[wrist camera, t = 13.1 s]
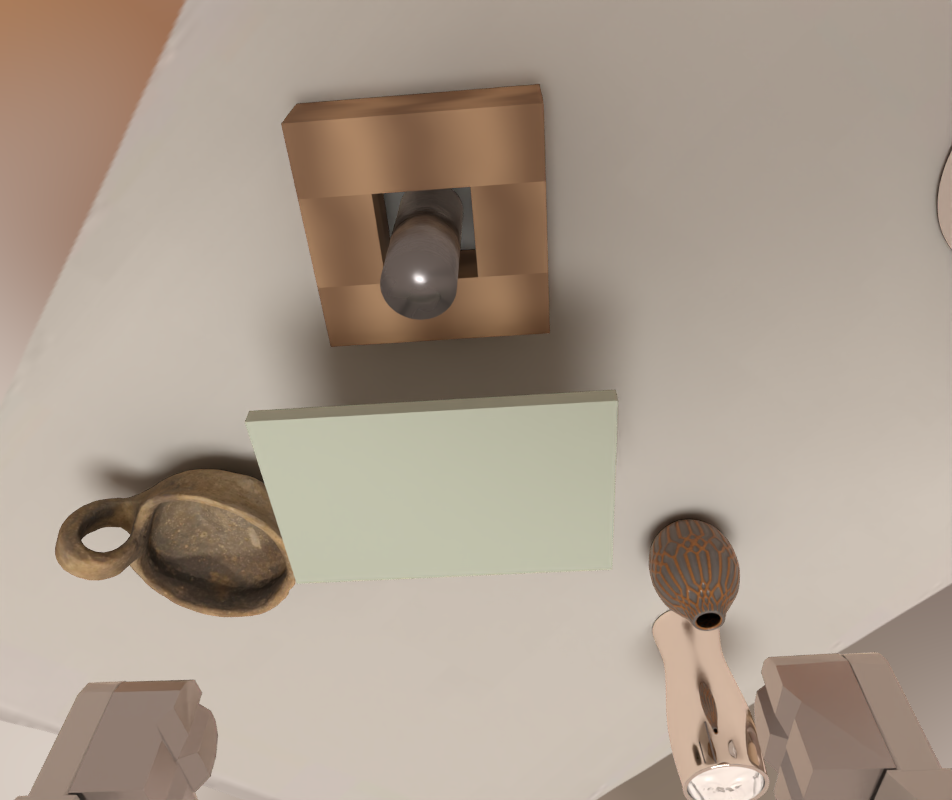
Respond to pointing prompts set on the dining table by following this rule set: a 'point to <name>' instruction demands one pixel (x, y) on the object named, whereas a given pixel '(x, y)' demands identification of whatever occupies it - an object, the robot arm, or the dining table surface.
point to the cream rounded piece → (707, 716)
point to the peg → (424, 254)
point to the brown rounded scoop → (190, 543)
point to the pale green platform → (442, 486)
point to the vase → (695, 572)
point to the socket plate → (425, 168)
